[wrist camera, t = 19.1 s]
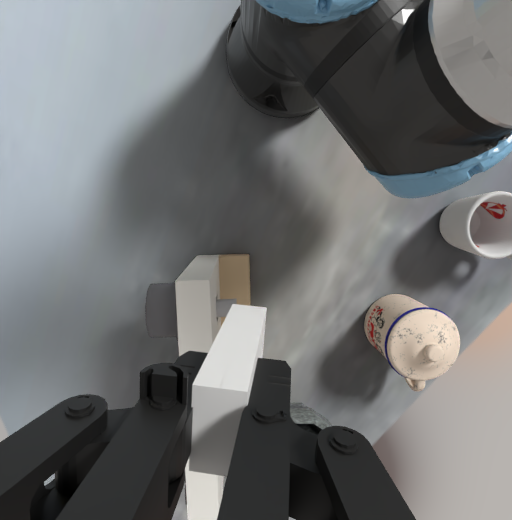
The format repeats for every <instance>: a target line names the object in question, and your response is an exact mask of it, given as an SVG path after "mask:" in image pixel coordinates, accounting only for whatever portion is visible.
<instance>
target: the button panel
mask: <svg viewBox="0 0 512 520" xmlns="http://www.w3.org/2000/svg"><path fill="white" fill-rule="evenodd" d="M175 289H176V308H177V320H176V332H177V340H178V345H179V356H181V355H183V354H184V353H186V352H188V351H197V352H205V353H208V352H209V350H210V348H211V346H212V344H213V342H214V340H215V338H216V336H217V334H218V332H219V330H220V328H221V326H222V324H223V322H224V320H225V318H226V317H217V315H216V299H237V304H238V305H248V306H251V303H250V264H249V254H226V255H197V256H196V257H195V258H194V259H193V261H192V262H191V263H190V264H189V265H188V266H187V268H186V269H185V270H184V271H183V272H182V274H181V275H180V276H179V277H178V278H177V279H176V281H175ZM223 477H224V476H220V475H213V474H206V473H200V472H193V471H189V459H188V461H187V464H186V467H185V474H184V481H185V483H186V485H185V500H186V505H187V514H188V520H217V517H218V513H219V509H220V504H221V500H222V496H223Z"/></svg>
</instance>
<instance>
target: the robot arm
mask: <svg viewBox="0 0 512 520" xmlns="http://www.w3.org/2000/svg"><path fill="white" fill-rule="evenodd" d="M226 53H227V65H228V70H229V73H230V76H231V79H232V81H233V83H234V85H235V87H236V89H237V91H238V92H239V93H240V95H241V96H242V97H243V98H244V99H245V100H246V101H247V102H248V103H249V104H250V105H251V106H253V107H254V108H256V109H257V110H259V111H261V112H263V113H265V114H268V115H271V116H275V117H281V118H292V117H298V116H302V115H305V114H308V113H310V112H312V111H314V110H316V109H317V108H319V107H320V109H321V110H322V111H323V113H324V114H325V115H326V117H327V118H328V119H329V120H330V122H331V123H332V124H333V126H334V127H335V128H336V130H337V131H338V132H339V133H340V135H341V136H342V137H343V139H344V140H345V141H346V142H347V144H348V145H349V146H350V148H351V149H352V150H353V152H354V153H355V154H356V155H357V157H358V158H359V159H360V161H361V162H362V163H363V165H364V167H365V169H366V170H367V171H368V172H369V173H370V174H371V175H373V176H375V177H376V179H377V180H378V181H379V182H380V183H381V184H382V185H383V186H384V187H385V189H386V190H387V191H388V192H390V193H391V194H393V195H395V196H398V197H402V198H420V197H426V196H430V195H434V194H437V193H440V192H443V191H446V190H449V189H451V188H454V187H456V186H458V185H461V184H463V183H465V182H467V181H468V180H470V178H471V177H472V176H473V175H474V174H477V173H480V172H485V171H486V170H488V169H489V168H491V167H492V166H494V165H495V164H497V163H498V162H500V161H501V160H502V159H504V158H505V157H506V156H507V155H508V154H509V153H510V152H511V151H512V0H241V5H240V6H239V7H238V9H237V11H236V12H235V14H234V16H233V18H232V21H231V23H230V27H229V30H228V35H227V42H226ZM266 310H267V308H266V307H257V306H248V305H238V304H232V306H231V308H230V310H229V312H228V314H227V316H226V318H225V320H224V322H223V324H222V326H221V328H220V330H219V332H218V334H217V336H216V338H215V340H214V342H213V344H212V346H211V348H210V350H209V352H208V353H205V352H197V351H188V352H186V353H184V354H183V355H181V356H179V358H178V359H177V361H176V362H175V364H173V363H159V364H153V365H151V366H148V367H146V368H144V369H143V370H142V371H141V372H140V400H139V401H138V402H137V404H136V405H135V407H133V408H127V409H117V410H107V402H106V401H105V399H103V398H102V397H100V396H96V395H90V394H89V395H78V396H75V397H71V398H68V399H66V400H64V401H62V402H60V403H59V404H57V405H56V406H54V407H53V408H51V409H50V410H48V411H47V412H45V413H44V414H42V415H41V416H39V417H38V418H36V419H35V420H33V421H32V422H30V423H29V424H27V425H26V426H24V427H23V428H21V429H20V430H18V431H17V432H15V433H14V434H12V435H10V436H9V437H7V438H6V439H5V440H3V441H1V442H0V520H171V519H172V517H173V514H174V511H175V508H176V505H177V503H178V500H179V497H180V494H181V492H182V489H183V486H184V474H185V467H186V464H187V461H188V459H189V471H193V472H200V473H206V474H213V475H220V476H227V479H226V483H225V487H224V492H223V496H222V500H221V504H220V509H219V513H218V517H217V520H288V518H289V517H292V518H294V519H296V520H416V519H415V517H414V515H413V514H412V512H411V510H410V509H409V507H408V506H407V504H406V502H405V501H404V499H403V498H402V496H401V494H400V492H399V491H398V489H397V487H396V486H395V484H394V482H393V481H392V479H391V477H390V476H389V474H388V473H387V471H386V470H385V467H384V466H383V464H382V463H381V461H380V459H379V458H378V456H377V455H376V452H375V451H374V449H373V448H372V446H371V444H370V443H369V441H368V440H367V439H366V438H365V437H364V436H363V435H362V434H360V433H358V432H357V431H355V430H353V429H350V428H347V427H342V426H331V427H326V428H324V429H323V430H321V431H320V432H319V434H318V435H315V434H312V433H310V432H308V431H306V430H303V429H302V428H300V427H299V426H298V425H297V424H296V423H295V422H294V421H293V420H292V418H291V416H290V387H291V386H290V385H291V368H290V367H289V365H288V364H287V363H286V361H281V360H273V359H264V358H262V357H263V345H264V333H265V322H266ZM54 473H55V479H54V480H53V481H51V482H50V483H49V484H47V485H46V486H44V481H45V480H47V479H48V478H49V477H50V476H51V475H52V474H54Z"/></svg>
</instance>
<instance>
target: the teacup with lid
mask: <svg viewBox="0 0 512 520" xmlns="http://www.w3.org/2000/svg"><path fill="white" fill-rule="evenodd" d="M364 329H365V333H366V336H367V338H368V340H369V342H370V343H371V344H372V345H373V346H374V347H375V348H376V349H377V350H378V351H379V352H380V353H381V354H382V355H383V356H384V357H385V358H386V359H387V360H388V362H389V364H390V365H391V367H392V368H393V369H394V370H395V371H396V372H397V373H398V374H400V375H401V376H403V377H404V378H405V380H406V382H407V384H408V385H409V387H410V388H411V389H412V390H414V391H422V390H423V389H424V387H425V380H430V379H434V378H436V377H438V376H440V375H442V374H444V373H445V372H446V371H447V370H448V369H449V368H450V367H451V366H452V365H453V364H454V362H455V360H456V358H457V356H458V353H459V349H460V336H459V332H458V329H457V327H456V325H455V324H454V322H453V321H452V319H451V318H450V317H449V316H448V315H446V314H445V313H443V312H442V311H440V310H437V309H434V308H430V307H428V306H426V305H424V304H422V303H420V302H418V301H416V300H414V299H412V298H410V297H408V296H406V295H401V294H391V295H387V296H384V297H382V298H380V299H378V300H377V301H376V302H375V303H374V304H373V305H372V306H371V307H370V308H369V310H368V312H367V314H366V317H365V322H364Z"/></svg>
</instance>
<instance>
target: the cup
mask: <svg viewBox="0 0 512 520" xmlns="http://www.w3.org/2000/svg"><path fill="white" fill-rule="evenodd" d="M439 227H440V232H441V234H442V236H443V238H444V239H445V240H446V241H447V242H448V243H449V244H451V245H452V246H454V247H457V248H459V249H462V250H465V251H467V252H470V253H473V254H476V255H478V256H481V257H484V258H488V259H500V258H504V257H507V258H510V259H512V194H511V193H508V192H502V191H497V192H490V193H486V194H481V195H476V196H472V197H467V198H463V199H459V200H457V201H455V202H453V203H451V204H450V205H449V206H448V207H447V208H446V209H445V210H444V211H443V213H442V215H441V218H440V223H439Z"/></svg>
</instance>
